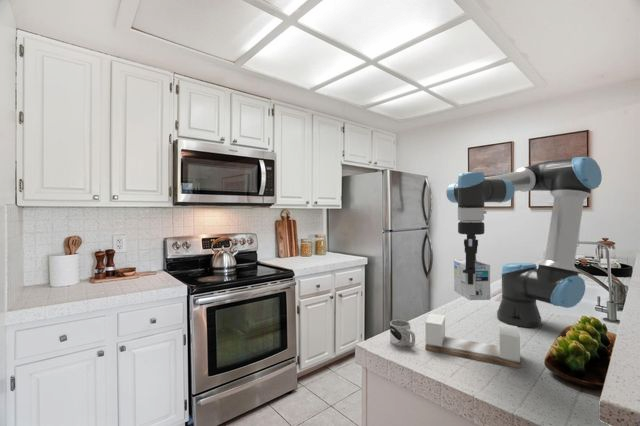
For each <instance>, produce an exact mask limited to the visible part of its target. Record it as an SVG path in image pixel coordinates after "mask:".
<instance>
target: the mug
mask: <svg viewBox="0 0 640 426" xmlns="http://www.w3.org/2000/svg"><path fill="white" fill-rule="evenodd" d="M389 328H390V329H389V330H390V331H389V337H390V338H389V342H390V344H391V345H392V346H395V347H400V348H406V347H408V346H409V347H415V345H416V334H415V332H413V331H412V329H411V323H410V322H409V321H408V320H404V319H394V320H393V319H392V320H391V321H390V322H389Z"/></svg>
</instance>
